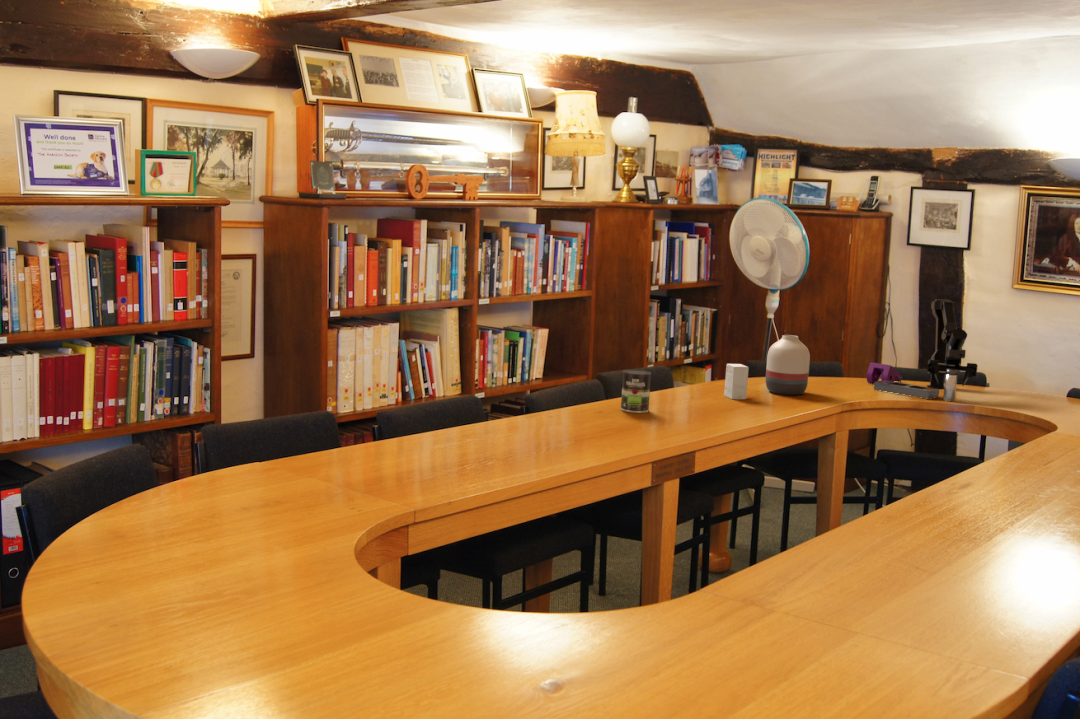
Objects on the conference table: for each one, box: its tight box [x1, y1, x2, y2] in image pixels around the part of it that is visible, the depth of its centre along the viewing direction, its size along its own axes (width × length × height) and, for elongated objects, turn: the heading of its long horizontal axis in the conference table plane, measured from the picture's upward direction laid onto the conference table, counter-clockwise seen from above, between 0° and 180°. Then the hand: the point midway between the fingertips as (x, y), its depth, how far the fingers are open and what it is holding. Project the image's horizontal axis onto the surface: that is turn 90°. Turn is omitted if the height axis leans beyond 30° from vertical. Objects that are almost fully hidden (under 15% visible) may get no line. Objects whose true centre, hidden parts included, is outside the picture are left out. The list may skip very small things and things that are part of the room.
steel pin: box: [942, 369, 959, 402], centre depth 390 cm, size 4×4×13 cm
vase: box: [765, 334, 811, 396], centre depth 391 cm, size 17×17×24 cm
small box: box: [723, 363, 749, 400], centre depth 376 cm, size 8×6×13 cm
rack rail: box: [873, 380, 940, 400], centre depth 403 cm, size 10×24×4 cm, turn 43°
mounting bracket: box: [866, 362, 903, 385], centre depth 427 cm, size 9×8×18 cm
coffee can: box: [620, 369, 652, 414], centre depth 344 cm, size 10×10×14 cm
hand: (950, 384), depth 389 cm, fingers open, 9 cm apart
